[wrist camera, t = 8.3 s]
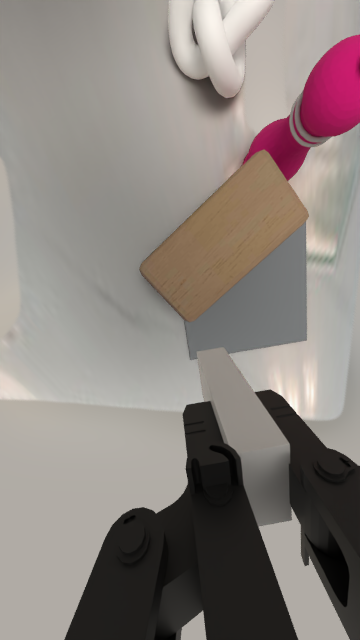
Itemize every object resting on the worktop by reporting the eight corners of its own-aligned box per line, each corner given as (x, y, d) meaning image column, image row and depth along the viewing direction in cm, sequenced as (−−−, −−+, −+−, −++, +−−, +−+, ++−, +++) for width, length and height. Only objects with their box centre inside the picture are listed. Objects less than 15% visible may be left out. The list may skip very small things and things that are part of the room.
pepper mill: (232, 153, 33) (327, -5, 14) (277, 135, 33) (439, -52, 13) (246, 202, 35) (347, 125, 16) (288, 185, 35) (445, 85, 15)
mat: (171, 234, 35) (171, 234, 35) (303, 214, 36) (305, 213, 35) (190, 358, 41) (190, 359, 40) (304, 339, 41) (306, 340, 41)
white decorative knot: (224, -26, 28) (249, -155, 19) (273, 67, 31) (316, -10, 22) (157, 42, 29) (153, -52, 21) (210, 126, 32) (227, 74, 23)
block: (184, 311, 38) (274, 229, 36) (190, 327, 28) (315, 216, 26) (143, 267, 36) (237, 177, 33) (134, 268, 26) (266, 141, 24)
